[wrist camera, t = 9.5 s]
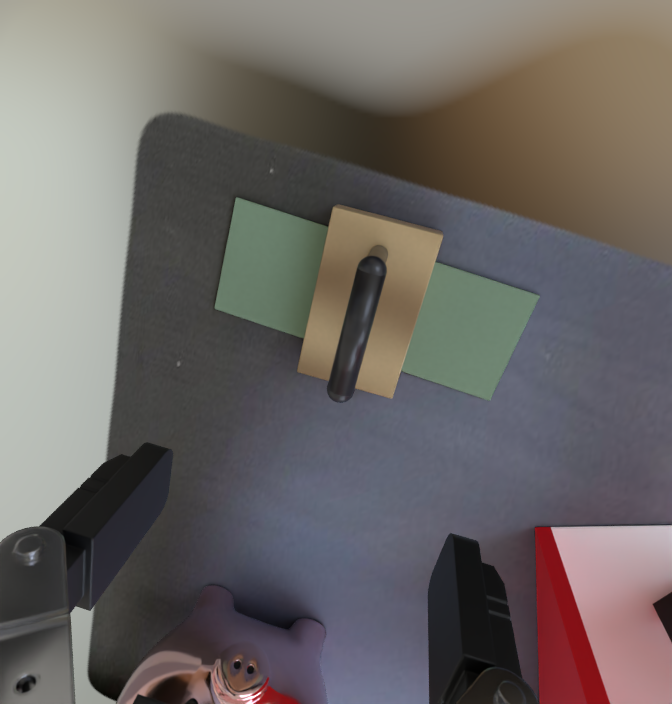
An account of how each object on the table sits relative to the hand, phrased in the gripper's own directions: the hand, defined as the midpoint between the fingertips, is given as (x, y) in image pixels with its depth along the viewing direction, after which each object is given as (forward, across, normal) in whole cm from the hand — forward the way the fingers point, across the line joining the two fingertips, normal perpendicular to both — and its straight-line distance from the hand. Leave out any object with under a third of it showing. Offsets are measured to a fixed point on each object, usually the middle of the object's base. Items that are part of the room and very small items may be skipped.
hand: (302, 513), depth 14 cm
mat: (+18, 0, -1) cm, 18 cm away
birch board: (+17, 0, -1) cm, 17 cm away
